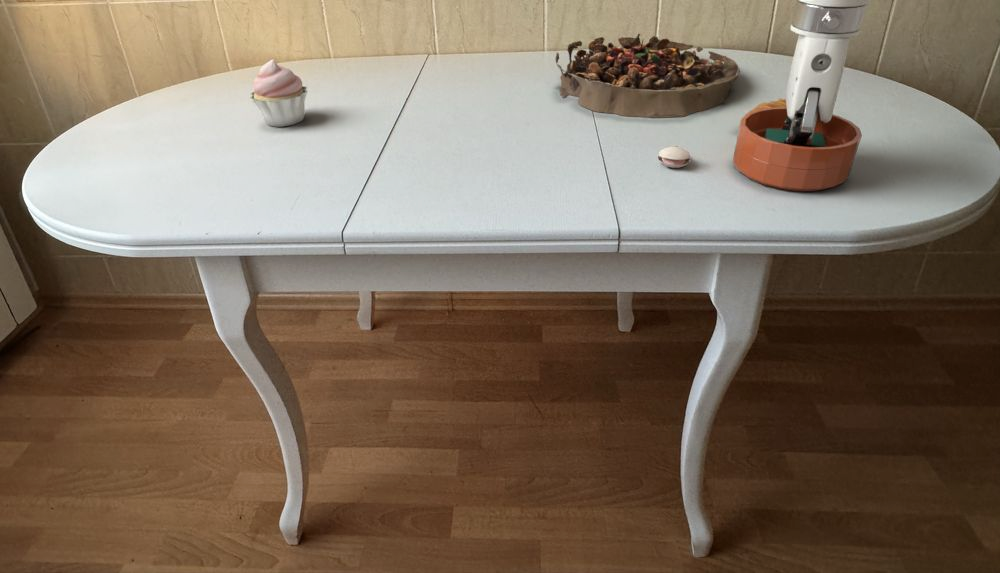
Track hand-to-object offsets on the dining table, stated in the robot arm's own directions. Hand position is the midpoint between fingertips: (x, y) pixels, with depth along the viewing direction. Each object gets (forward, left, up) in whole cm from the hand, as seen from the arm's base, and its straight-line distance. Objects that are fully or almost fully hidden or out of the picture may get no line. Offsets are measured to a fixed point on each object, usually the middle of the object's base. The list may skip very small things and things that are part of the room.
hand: (789, 161), depth 83 cm
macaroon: (+15, +2, -1) cm, 15 cm away
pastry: (+2, -15, -1) cm, 15 cm away
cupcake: (+79, +1, -1) cm, 79 cm away
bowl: (0, 0, -1) cm, 1 cm away
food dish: (+24, -32, -1) cm, 40 cm away
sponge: (0, 0, -1) cm, 1 cm away
